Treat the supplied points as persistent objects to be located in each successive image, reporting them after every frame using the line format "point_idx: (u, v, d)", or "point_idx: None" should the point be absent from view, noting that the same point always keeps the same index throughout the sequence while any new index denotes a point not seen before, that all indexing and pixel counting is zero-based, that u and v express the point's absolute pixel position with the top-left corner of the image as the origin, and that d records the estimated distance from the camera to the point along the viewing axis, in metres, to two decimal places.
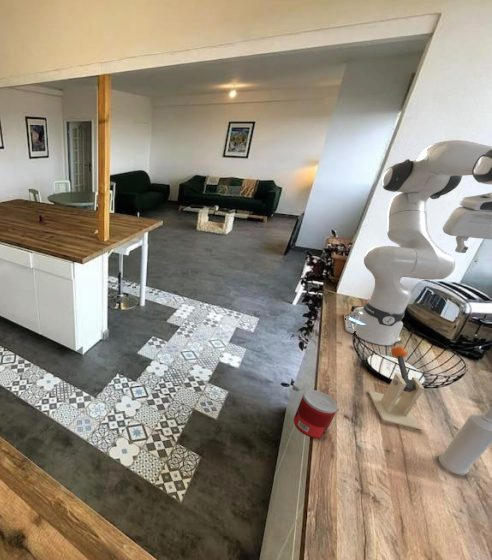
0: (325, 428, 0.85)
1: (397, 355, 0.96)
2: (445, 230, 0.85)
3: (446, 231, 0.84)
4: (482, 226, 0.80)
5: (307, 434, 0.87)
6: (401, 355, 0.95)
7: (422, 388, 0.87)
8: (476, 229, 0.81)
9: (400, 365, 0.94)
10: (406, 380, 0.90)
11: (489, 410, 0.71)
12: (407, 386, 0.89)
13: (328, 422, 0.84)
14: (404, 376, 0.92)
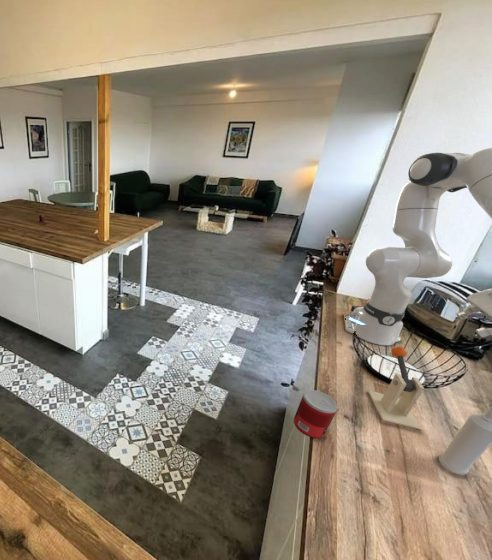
0: (325, 428, 0.85)
1: (397, 355, 0.96)
2: None
3: None
4: None
5: (307, 434, 0.87)
6: (401, 355, 0.95)
7: (422, 388, 0.87)
8: None
9: (400, 365, 0.94)
10: (406, 380, 0.90)
11: (489, 410, 0.71)
12: (407, 386, 0.89)
13: (328, 422, 0.84)
14: (404, 376, 0.92)
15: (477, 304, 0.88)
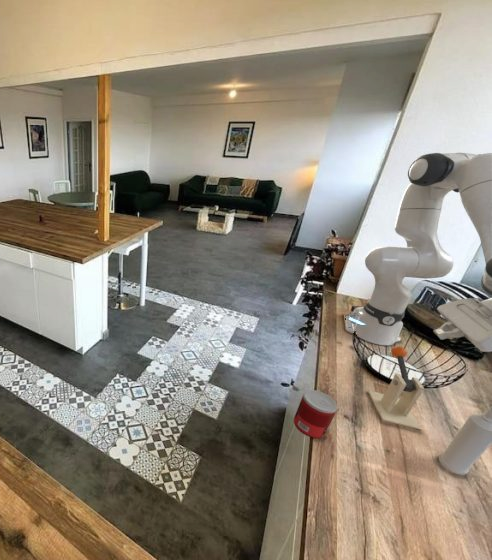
0: (325, 428, 0.85)
1: (397, 355, 0.96)
2: (485, 347, 0.80)
3: (485, 349, 0.80)
4: None
5: (307, 434, 0.87)
6: (401, 355, 0.95)
7: (422, 388, 0.87)
8: None
9: (400, 365, 0.94)
10: (406, 380, 0.90)
11: (489, 410, 0.71)
12: (407, 386, 0.89)
13: (328, 422, 0.84)
14: (404, 376, 0.92)
15: (446, 315, 0.92)
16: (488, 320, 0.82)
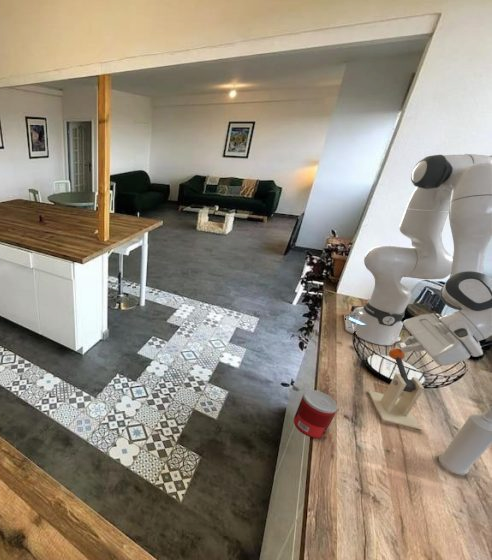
0: (325, 428, 0.85)
1: (395, 357, 0.97)
2: (440, 362, 0.85)
3: (441, 363, 0.85)
4: None
5: (307, 434, 0.87)
6: (399, 356, 0.96)
7: (422, 388, 0.87)
8: None
9: (399, 366, 0.94)
10: (406, 380, 0.90)
11: (489, 410, 0.71)
12: (407, 385, 0.89)
13: (328, 422, 0.84)
14: (403, 376, 0.92)
15: (409, 329, 0.97)
16: (445, 335, 0.88)
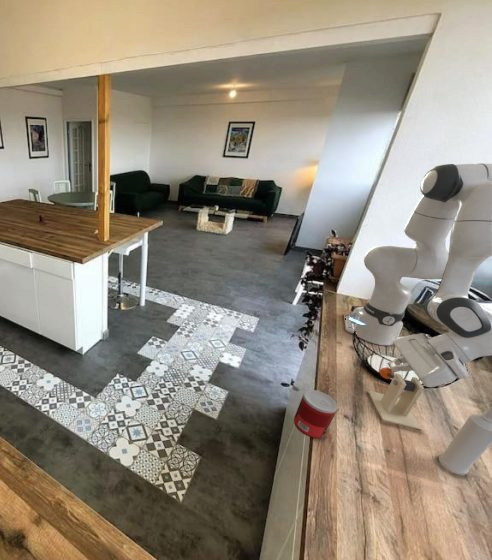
0: (325, 428, 0.85)
1: (386, 373, 1.00)
2: (427, 383, 0.88)
3: (428, 384, 0.88)
4: None
5: (307, 434, 0.87)
6: (390, 372, 0.99)
7: (422, 388, 0.87)
8: None
9: (393, 377, 0.96)
10: None
11: (489, 410, 0.71)
12: (407, 382, 0.90)
13: (328, 422, 0.84)
14: None
15: (399, 349, 1.01)
16: (432, 357, 0.91)
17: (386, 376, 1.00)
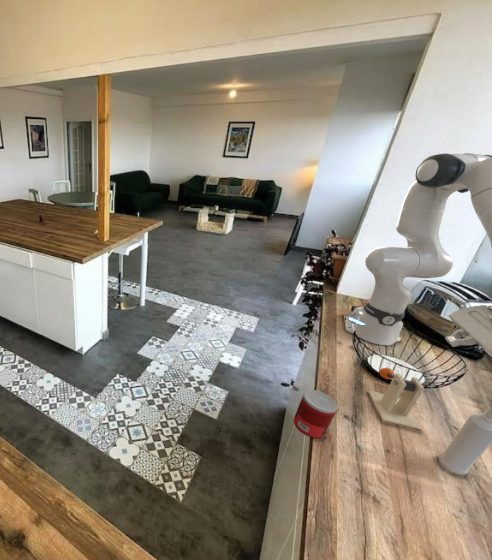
0: (325, 428, 0.85)
1: (386, 373, 1.00)
2: None
3: None
4: None
5: (307, 434, 0.87)
6: (390, 372, 0.99)
7: (422, 388, 0.87)
8: None
9: (393, 377, 0.96)
10: (403, 379, 0.91)
11: (489, 410, 0.71)
12: (407, 382, 0.90)
13: (328, 422, 0.84)
14: None
15: (458, 322, 0.92)
16: None
17: (386, 376, 1.00)
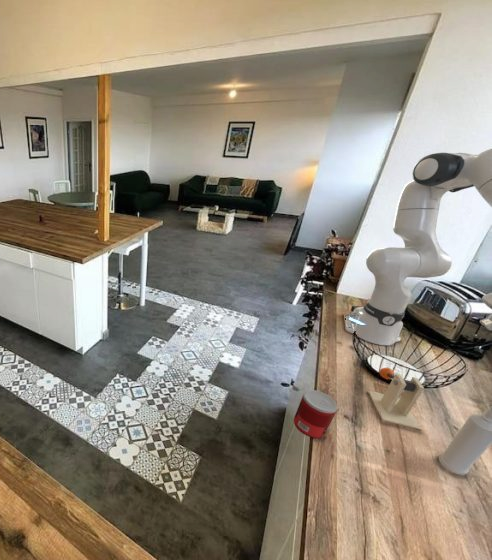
0: (325, 428, 0.85)
1: (386, 373, 1.00)
2: None
3: None
4: None
5: (307, 434, 0.87)
6: (390, 372, 0.99)
7: (422, 388, 0.87)
8: None
9: (393, 377, 0.96)
10: (403, 379, 0.91)
11: (489, 410, 0.71)
12: (407, 382, 0.90)
13: (328, 422, 0.84)
14: None
15: None
16: None
17: (386, 376, 1.00)
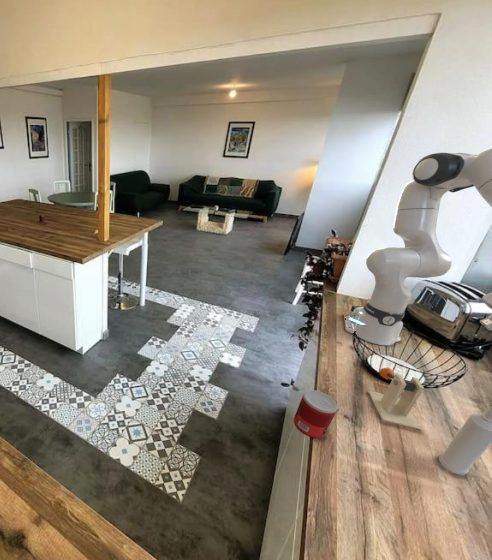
0: (325, 428, 0.85)
1: (386, 373, 1.00)
2: None
3: None
4: None
5: (307, 434, 0.87)
6: (390, 372, 0.99)
7: (422, 388, 0.87)
8: None
9: (393, 377, 0.96)
10: (403, 379, 0.91)
11: (489, 410, 0.71)
12: (407, 382, 0.90)
13: (328, 422, 0.84)
14: None
15: None
16: None
17: (386, 376, 1.00)
